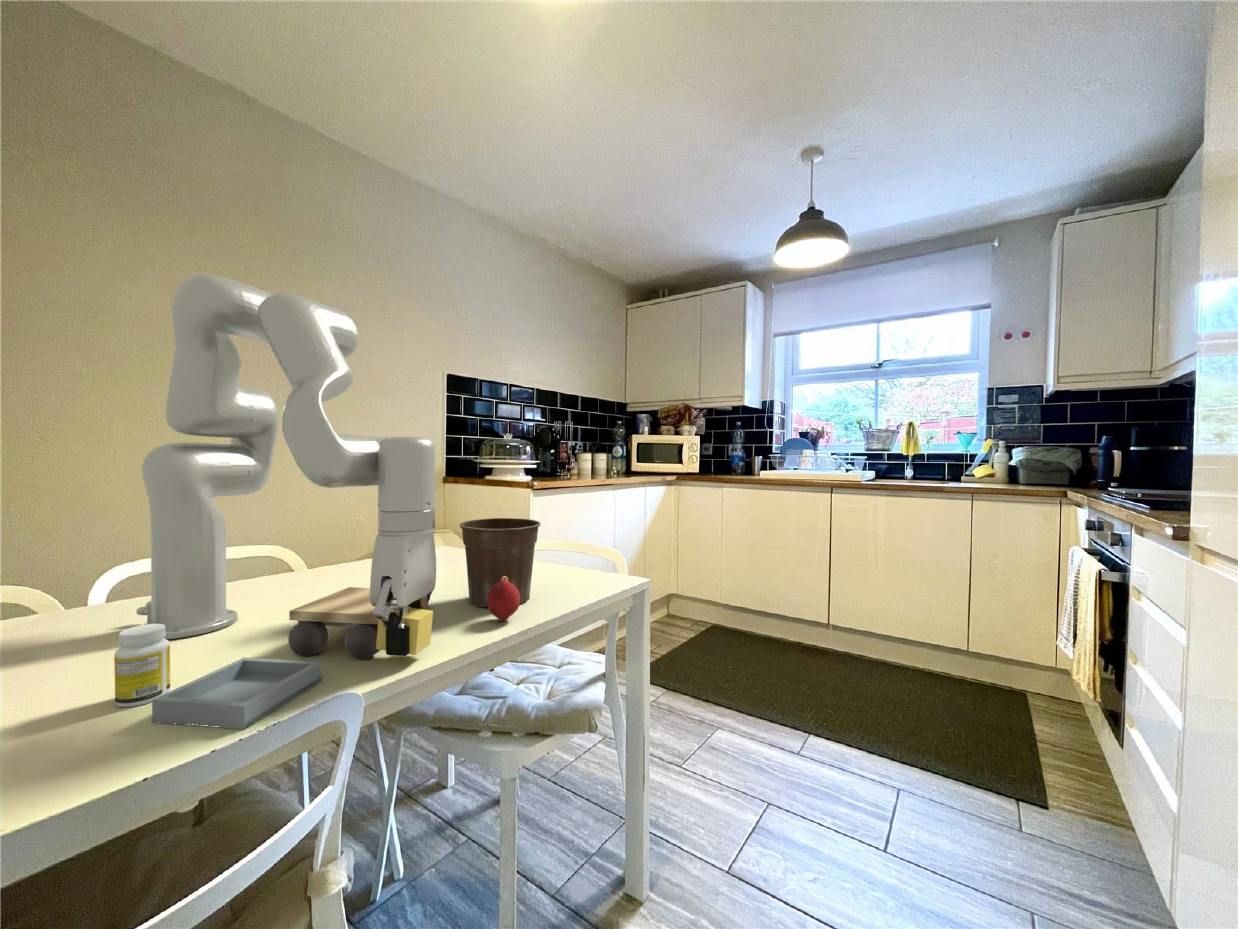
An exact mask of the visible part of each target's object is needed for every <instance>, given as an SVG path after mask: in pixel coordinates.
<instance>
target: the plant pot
mask: <svg viewBox="0 0 1238 929" xmlns="http://www.w3.org/2000/svg"><path fill="white" fill-rule="evenodd" d="M541 524H542V523H541V521H538V520H535V519H529V518H514V517H513V518H511V517H505V518H504V517H499V518H498V517H496V518H495V517H494V518H493V517H492V518H491V517H490V518H479V519H471V520H466V521H463V522H460V523H459V528H460V529H461V533H462V541H463V542H462V544H463V545H464V546H465V547H464V549H465V550H464V551H465V560H466V570H467V575H466V576H467V583H468V584H467V586H468V599H469V600H468V601H469V603H470V604H472V606H475V607H479V608H483V609H484V608H487V607H488V606H487V597H488V595H489V592H490V591H491V589H492V588H493V587H494V586H495V585H496V584H497V583H499V582H500V580H501V578H502V577H503V576H507V577H508V582H510V583H512V584H513V585H514V586H515V587H516V588H517V589H518V591H519V593H520V605H523V604H525V603H527V601H528V600H529V599H530V596H531V584H532V577H533V576H532V575H533V566H534V558H535V557H534V556H535V547H536V543H537V541H538V535H539V534H538V533H539V527H540V526H541Z"/></svg>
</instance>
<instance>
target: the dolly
mask: <svg viewBox="0 0 1238 929" xmlns="http://www.w3.org/2000/svg"><path fill="white" fill-rule="evenodd" d="M396 603H397V600H393V604H396ZM374 609H375V606H372V605H371V603H370V587H355V586H353V587H350V586H349V587H345V588H344V589H341V590H339V591H336V592H334V593H331V594H328V595H326V596H323V597H321V598H319V599H316V600H314V601H311V602H309V603H305V604H304V605H300V606H299V607H296V608H294V609H290V610H289V613H288V614H289V618H288V619H289V621H297V623H296V624H295V625H293V627H292V628H291V629H290V630H289V633H288V645H289V647H290V649H291V651H292V652H293V653H294V654H295V655H297V656H300V657H303V658H306V657H310V656H312V655H314V654H317V653H318V652H320V651H321V650H323V649H324V648H325V647H326V646H327V644H328V643H329V642H328V641H329V636H330V635H329V631H328V630H329V629H328V627H341V628H343V627H344V628H350V629H349V630H348V631H347V633H346V636H345V639H344V642H345V643H344V644H345V648H346V650H347V652H348V654H349V655H350V656H351V657H352V658H354V659H356V660H360V661H363V660H364V661H365V660H368V659H370V658H372V657H373V656H375V655H376V654H377V653H380V651H381V650H379V649H376V642H377V631H378V620H379V619H378V618H376V617H374V615H373V612H374Z"/></svg>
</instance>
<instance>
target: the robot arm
mask: <svg viewBox="0 0 1238 929" xmlns="http://www.w3.org/2000/svg"><path fill="white" fill-rule="evenodd" d="M171 322H172V328H173V335H174V336H173V337H174V355H173V360H172V366H171V371H170V377H169V385H168V390H167V396H166V405H165V419H166V420H165V421H166V422H167V425H168V426H169V427H170V429H172V430H173V431H175V432H178V433H179V434H183V435H187V436H194V437H207V438H228V439H230V443H213V442H210V443H209V442H172V443H166V444H162V445H158V446H157V447H154V448H153V449H152V450H150V451H149V452H148V453H147V454H146V455H145V456H144V458H143V461H142V465H141V473H142V480H143V484H144V488H145V490H146V496H147V500H148V504H149V505H148V507H149V515H150V516H149V517H150V541H151V542H150V553H151V554H150V560H151V561H150V566H151V567H150V570H151V572H150V583H151V584H150V589H151V590H150V593H151V594H150V597H151V599H150V600H149V601H147V602H146V603H145V605H144V606H140V607H137V610H136V612H135V613H136V614H137V616H147V617H146V618H147V619H146V623H144V624H143V625H147V624H164V625H165V633H166V634H165V637H164V638H163V639H166V640H172V639H173V640H175V639H181V638H182V639H183V638H188V637H193V636H197V635H203V634H207V633H210V632H214V631H218V630H221V629H223V628H226V627H228V626H230V625H232V624H234V623H235V622H236V621H237V620H238V612H237V611H236V610H233V609H229V608H227V524H226V520H225V517H224V515H223V513H222V512H221V510H220V509H219V508H218V507H217V505H216V504H215V502H214V501H213V500H212V499H211V498H219V497H231V496H235V497H236V496H243V495H251V494H254V493H256V492H259V491H260V490H261V489H263V487H265V485H266V483H267V481H268V479H269V476H270V472H271V468H272V464H273V458H274V453H275V448H276V443H277V436H278V432H279V431H278V430H279V427H280V426H279V425H280V424H279V423H280V412H279V408H278V406H277V403H276V401H275V400H274V398H273V397H272V396H271V395H270V394H269V393H268V392H266V391H265V390H263V389H259V388H256V387H251V386H243V385H239V378H240V372H241V367H242V365H241V364H242V361H241V357H240V353H239V350H238V349H237V347H236V344H235V343H234V341H233V340H232V338H231V337H230V336H229V335H233V336H238V337H241V338H246V339H248V340H252V341H255V342H256V341H257V342H261V343H265V344H269V346H270V348H271V351H273V354H274V355H275V358H276V360H277V362H278V364H279V365H280V368H281V370H282V372H283V374H284V376H285V377H286V379H287V382H288V383H289V385H290V387H291V391H290V393H289V394H288V396H287V398H286V401H285V403H284V407H283V412H282V419H281V422H282V427H281V428H282V434H283V438H284V441H285V443H286V445H287V447H288V449H289V452H290V453H291V455H292V457H293V460H294V461H295V463H296V465H297V466H298V468H299V470H300V471H301V472H302V474H303V475H304V476H305V478H307V479H308V480H309V481H310V482H311V483H313V484H314V485H316V486H319V487H322V488H327V489H337V488H339V489H341V488H354V487H374V486H375V487H376V486H377V487H378V488H377V501H378V502H377V526H378V527H377V530H378V531H377V535H376V537H375V541H374V546H373V551H372V558H371V566H370V567H371V568H370V569H371V570H370V582H369V583H370V585H369V588H370V603H371V605H372V606H375V609H374V612H373V615H374V617H376V618H378V619H380V620H381V621H382V622H383V627H384V628H386V650H385V654H386V655H387V656H393V657H394V656H397V657H406V656H408V655H410V654H409V626H406V623H407V613H408V607H410V608H417V609H424V610H430V609H429V608H430V607H429V603H430V600H431V596H432V594H433V591H434V590H435V587H436V582H437V555H436V554H437V553H436V541H435V534H434V533H435V530H436V447H435V444H434V442H433V441H432V440H431V439H430V438H427V437H423V436H421V437H420V436H388V437H383V436H373V435H363V434H362V435H361V434H359V435H358V434H345V433H337V432H336V431H335V430H334V429H333V427H332V424H331V423H330V421H329V419H328V417H327V415H326V412H325V410H324V406H323V404H322V403H323V402H327V401H329V400H333V399H334V398H337V397H339V396H340V395H341V394H343V393H345V391H347V390H349V388H350V387H351V385H352V384H353V381H354V374H353V370H352V369H351V367H350V365H349V363H348V361H347V358H350V357H351V356H352V355H353V354H354V353H355V352H356V350H357V348H358V345H359V341H360V339H359V338H360V337H359V332H358V331H359V330H358V329H357V326H356V324H355V323H354V320H353V319H352V318H351V317H350V316H349V315H348V314H347V313H346V312H344V311H342V310H340V309H337V308H335V307H332V306H329V305H326V304H324V303H321V302H318V301H316V300H313V299H310V298H307V297H304V296H301V295H299V294H298V295H297V294H294V293H293V294H292V293H287V292H286V293H273V292H272V293H271V292H268V291H266V290H263V289H260V288H257V287H255V286H252V285H250V284H246V283H243V282H241V281H237V280H234V279H230V278H227V277H224V276H218V275H212V274H199V275H193V276H190V277H188V278H187V279H185V280H184V281H183V282H182V283H181V284H180V285H179V286H178V288H177V289H176V291H175V293H174V296H173V300H172V303H171ZM393 600H397V603H396V604H393ZM393 609H399V610H400V613H399V616H398V615H397V613H396V612H393Z"/></svg>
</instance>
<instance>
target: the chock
mask: <svg viewBox="0 0 1238 929" xmlns="http://www.w3.org/2000/svg"><path fill="white" fill-rule="evenodd" d="M393 612H396V613H397V615H398V616H399V613H400V610H399V609H393ZM433 617H434V610H430V609H429V610H424V609H417V608H410V607H408V613H407V623H406V626H409V654H408V655H414V656H417V655H418V654H419V653H421V652H422V651H423V650H425V649H426V648H427V647H428V646H430V645H431V637H432V628H433ZM376 649H379V650H380V651H386V628H384V627H383V622H382V621H381V620H380V619H379V620H378V631H377V642H376Z"/></svg>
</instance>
